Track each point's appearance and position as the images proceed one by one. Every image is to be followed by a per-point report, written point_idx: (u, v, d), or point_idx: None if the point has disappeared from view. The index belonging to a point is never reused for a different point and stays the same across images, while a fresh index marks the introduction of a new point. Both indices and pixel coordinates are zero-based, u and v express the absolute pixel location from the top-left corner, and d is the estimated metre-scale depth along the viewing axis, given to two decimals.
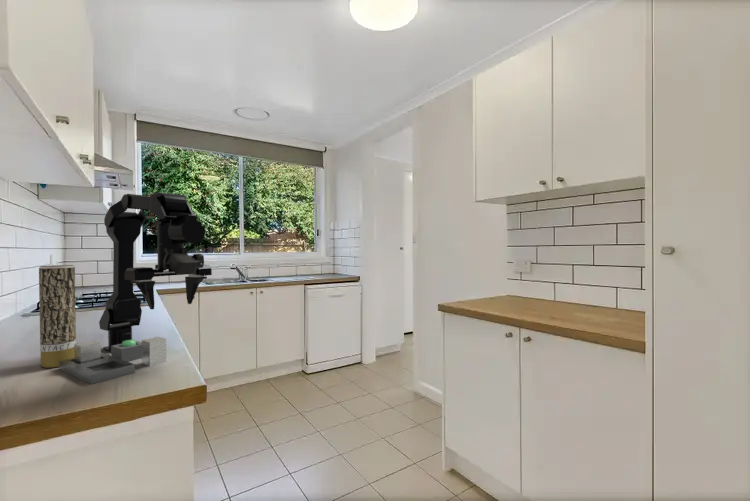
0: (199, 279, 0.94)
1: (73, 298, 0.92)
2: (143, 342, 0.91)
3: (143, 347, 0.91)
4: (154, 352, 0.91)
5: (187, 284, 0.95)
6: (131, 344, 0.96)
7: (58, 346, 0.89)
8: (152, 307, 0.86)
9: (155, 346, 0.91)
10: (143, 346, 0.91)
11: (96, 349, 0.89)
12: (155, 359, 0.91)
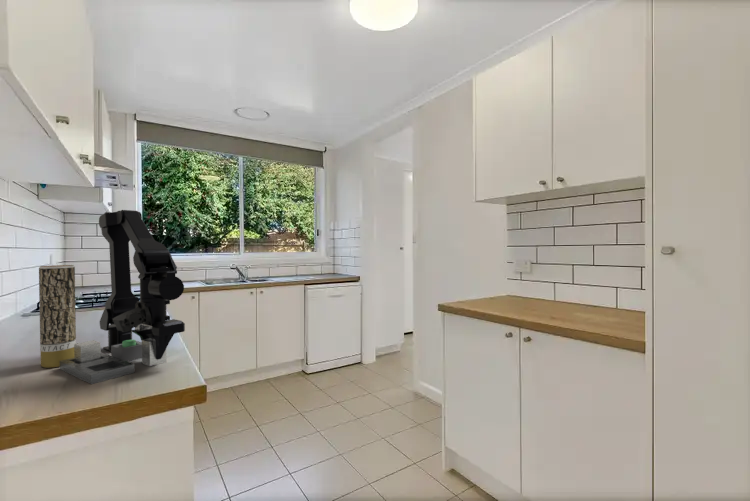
0: (149, 336, 0.88)
1: (73, 298, 0.92)
2: (143, 342, 0.91)
3: (143, 347, 0.91)
4: (154, 352, 0.91)
5: None
6: (131, 344, 0.96)
7: (58, 346, 0.89)
8: None
9: None
10: (143, 346, 0.91)
11: (96, 349, 0.89)
12: (155, 359, 0.91)
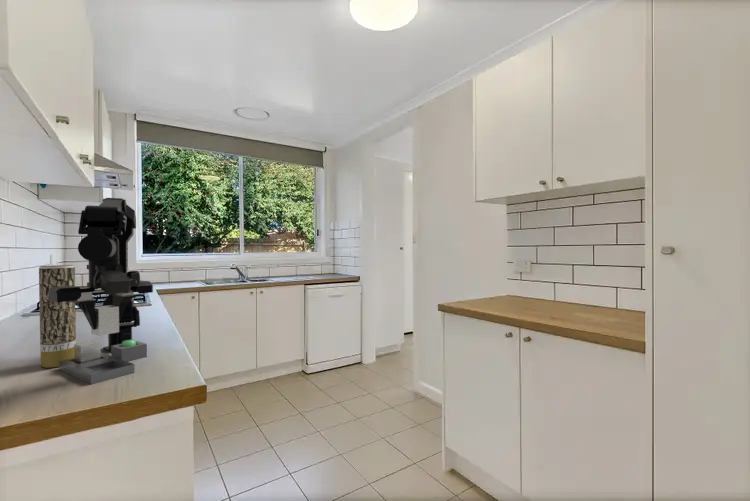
0: (126, 298, 0.85)
1: None
2: (103, 310, 0.82)
3: (103, 316, 0.82)
4: None
5: (114, 304, 0.87)
6: (131, 344, 0.96)
7: (58, 346, 0.89)
8: (94, 327, 0.82)
9: None
10: (103, 314, 0.82)
11: (96, 349, 0.89)
12: None
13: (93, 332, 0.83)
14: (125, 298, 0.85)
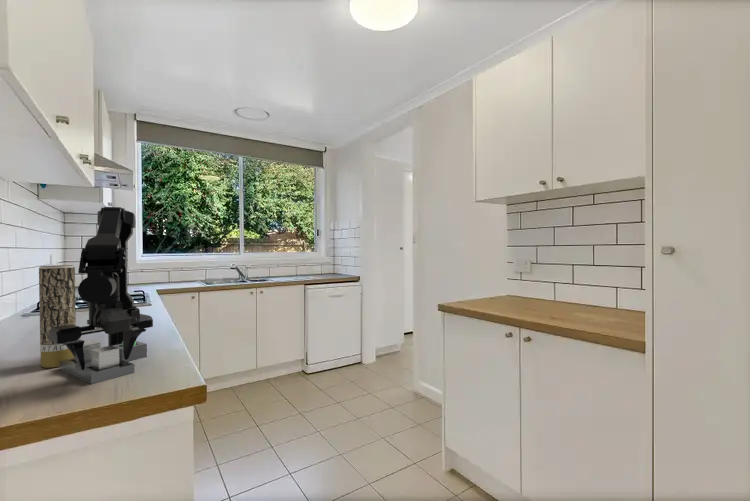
0: (136, 333, 0.87)
1: (73, 298, 0.92)
2: (103, 353, 0.82)
3: (103, 359, 0.82)
4: None
5: (124, 337, 0.88)
6: None
7: (58, 346, 0.89)
8: (82, 368, 0.80)
9: None
10: (103, 358, 0.82)
11: None
12: None
13: None
14: (135, 332, 0.87)
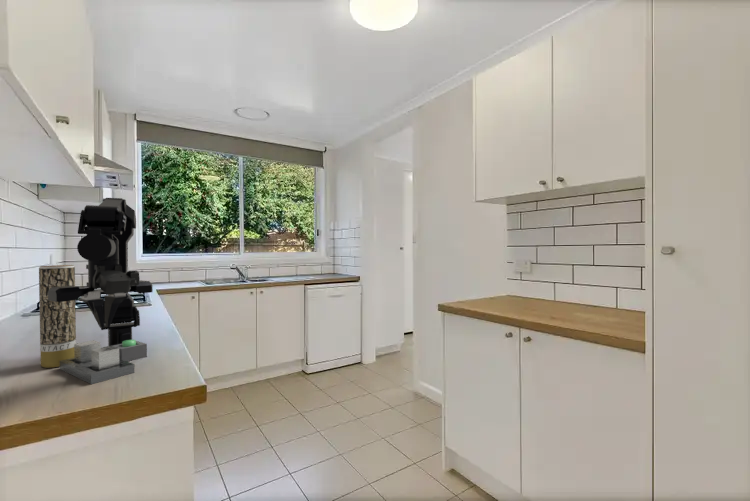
0: (118, 299, 0.84)
1: None
2: (103, 353, 0.82)
3: (103, 359, 0.82)
4: None
5: (106, 304, 0.85)
6: (131, 344, 0.96)
7: (58, 346, 0.89)
8: (102, 326, 0.83)
9: None
10: (103, 358, 0.82)
11: None
12: None
13: None
14: (117, 299, 0.83)
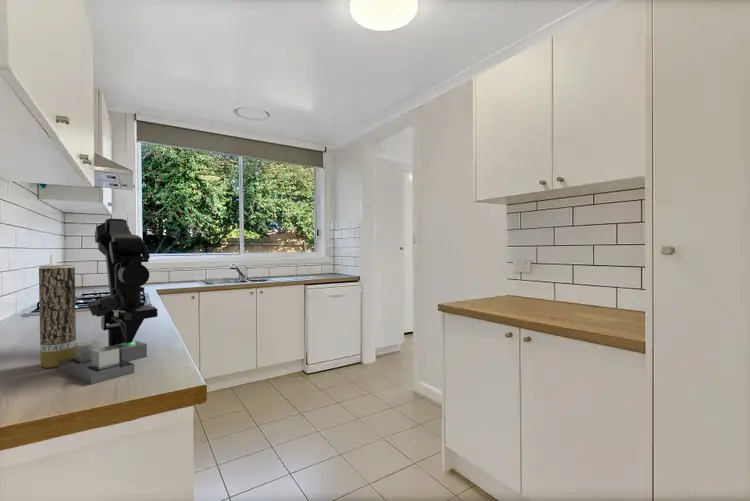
0: (120, 320, 0.94)
1: (73, 298, 0.92)
2: (103, 353, 0.82)
3: (103, 359, 0.82)
4: None
5: None
6: (131, 345, 0.96)
7: (58, 346, 0.89)
8: None
9: None
10: (103, 358, 0.82)
11: None
12: None
13: None
14: (118, 320, 0.94)
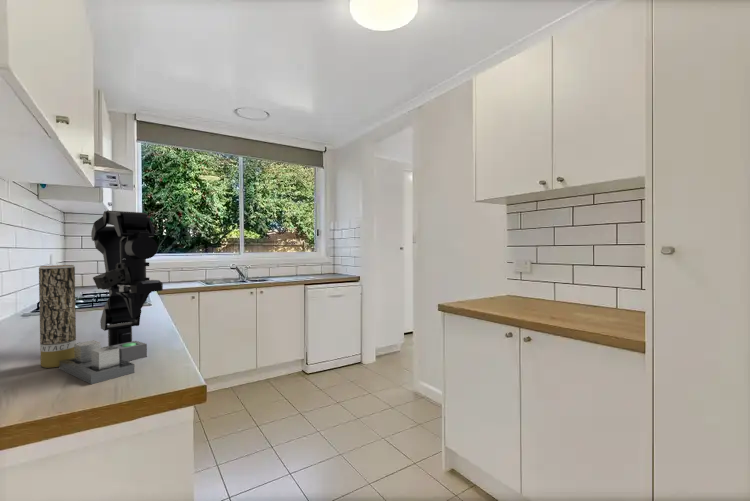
0: (125, 294, 0.93)
1: (73, 298, 0.92)
2: (103, 353, 0.82)
3: (103, 359, 0.82)
4: None
5: None
6: None
7: (58, 346, 0.89)
8: (131, 315, 0.96)
9: None
10: (103, 358, 0.82)
11: None
12: None
13: None
14: (124, 294, 0.93)
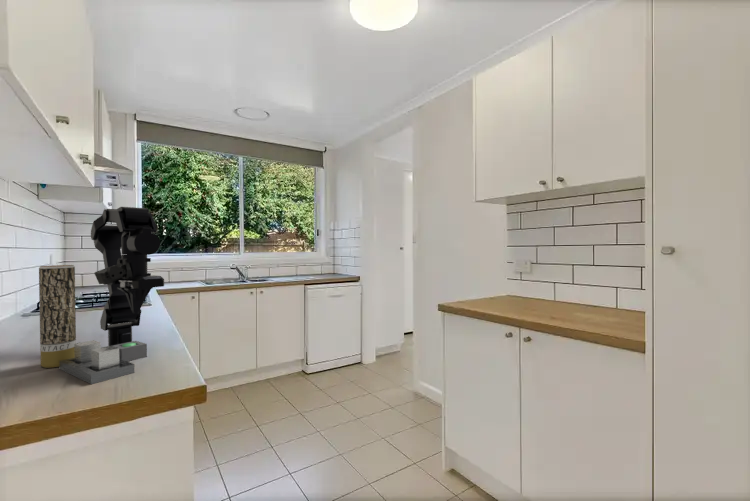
0: (126, 290, 0.93)
1: (73, 298, 0.92)
2: (103, 353, 0.82)
3: (103, 359, 0.82)
4: None
5: None
6: None
7: (58, 346, 0.89)
8: (132, 311, 0.96)
9: None
10: (103, 358, 0.82)
11: None
12: None
13: None
14: (125, 289, 0.93)
